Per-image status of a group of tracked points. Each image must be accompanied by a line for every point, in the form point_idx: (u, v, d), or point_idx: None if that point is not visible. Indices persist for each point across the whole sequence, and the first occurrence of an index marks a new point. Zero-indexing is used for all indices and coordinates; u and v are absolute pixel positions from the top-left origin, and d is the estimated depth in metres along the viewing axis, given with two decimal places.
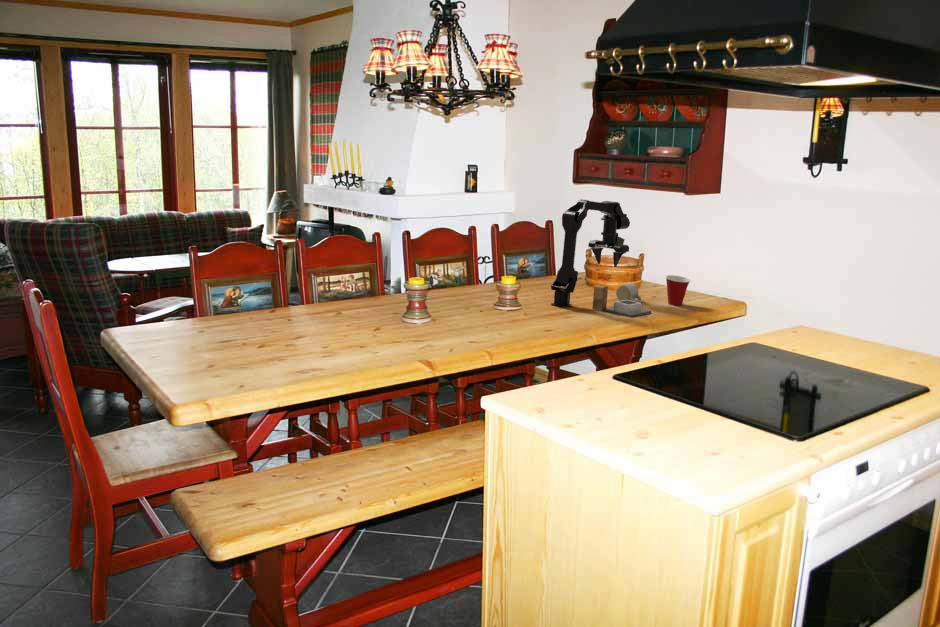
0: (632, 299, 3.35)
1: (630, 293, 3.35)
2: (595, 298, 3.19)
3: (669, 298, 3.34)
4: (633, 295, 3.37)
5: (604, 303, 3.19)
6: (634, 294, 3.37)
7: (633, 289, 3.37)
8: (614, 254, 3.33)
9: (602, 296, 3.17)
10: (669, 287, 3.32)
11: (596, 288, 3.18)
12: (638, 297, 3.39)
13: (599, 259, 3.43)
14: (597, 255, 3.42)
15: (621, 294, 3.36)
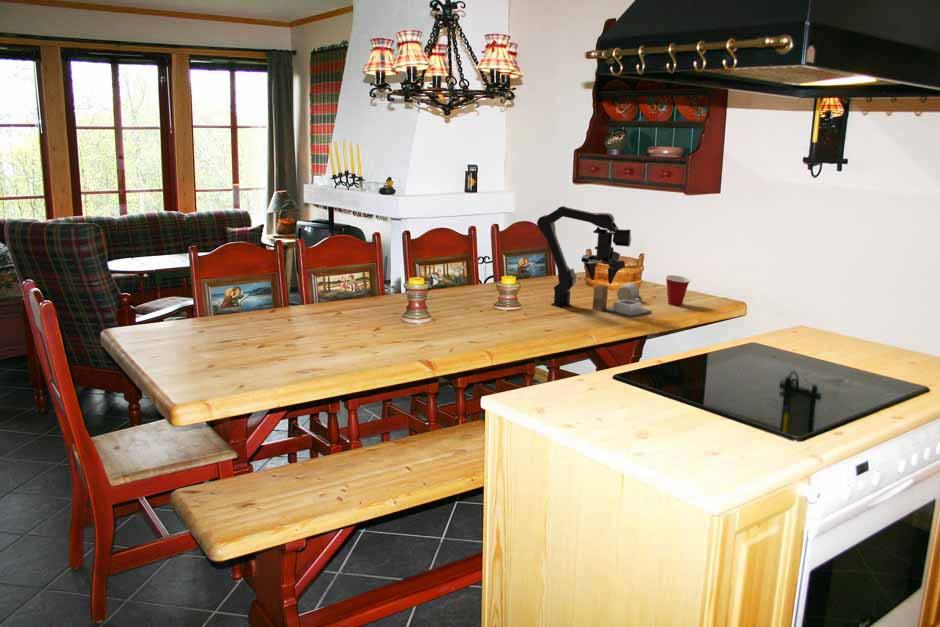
0: (633, 299, 3.34)
1: (631, 293, 3.34)
2: (595, 298, 3.19)
3: (669, 298, 3.34)
4: (634, 295, 3.37)
5: (604, 303, 3.19)
6: (635, 294, 3.37)
7: (634, 289, 3.36)
8: (609, 271, 3.10)
9: (602, 296, 3.17)
10: (669, 287, 3.32)
11: (596, 288, 3.18)
12: (639, 297, 3.38)
13: (593, 275, 3.21)
14: (591, 271, 3.19)
15: (622, 294, 3.36)
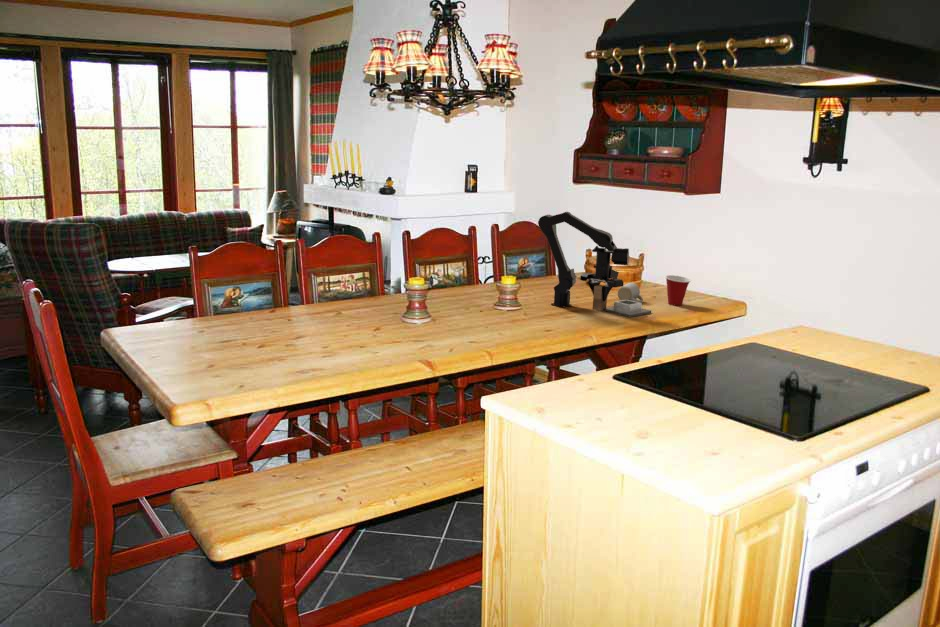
0: (633, 299, 3.34)
1: (631, 293, 3.34)
2: (595, 298, 3.19)
3: (669, 298, 3.34)
4: (634, 295, 3.36)
5: (604, 303, 3.19)
6: (635, 294, 3.37)
7: (634, 289, 3.36)
8: (603, 288, 3.14)
9: None
10: (669, 287, 3.32)
11: (596, 288, 3.18)
12: (639, 297, 3.38)
13: None
14: None
15: (623, 294, 3.36)
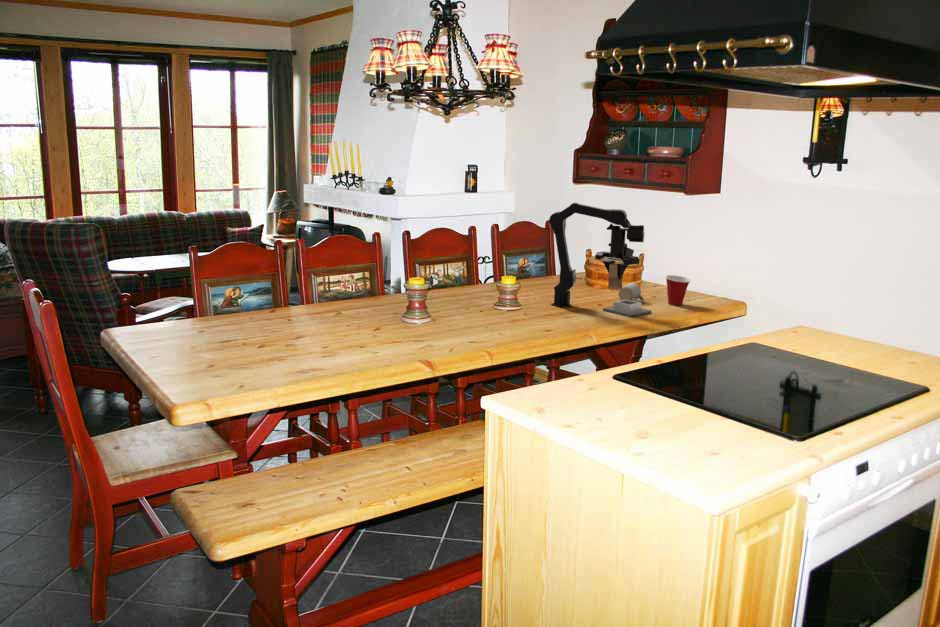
0: (634, 299, 3.34)
1: (632, 293, 3.34)
2: (610, 276, 3.15)
3: (669, 298, 3.34)
4: (635, 295, 3.36)
5: (620, 281, 3.15)
6: (636, 294, 3.36)
7: (635, 289, 3.36)
8: (619, 266, 3.11)
9: None
10: (669, 287, 3.32)
11: (611, 266, 3.14)
12: (640, 297, 3.38)
13: None
14: None
15: (624, 295, 3.36)
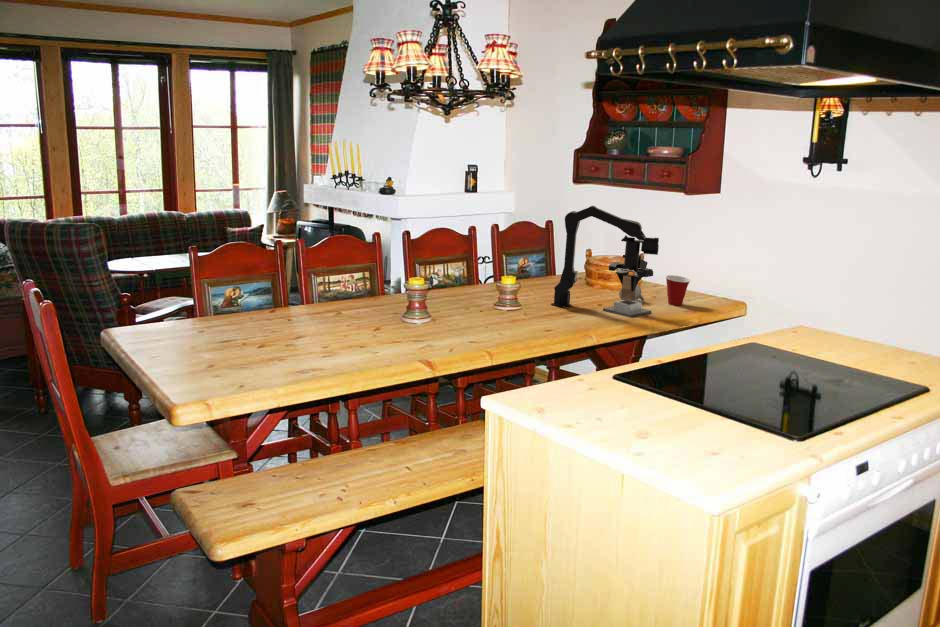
0: (635, 300, 3.34)
1: None
2: (623, 288, 3.16)
3: (669, 298, 3.34)
4: (636, 296, 3.36)
5: (633, 293, 3.16)
6: (637, 295, 3.36)
7: (636, 290, 3.36)
8: (632, 278, 3.11)
9: None
10: (669, 287, 3.32)
11: (625, 278, 3.14)
12: (641, 298, 3.38)
13: None
14: None
15: None
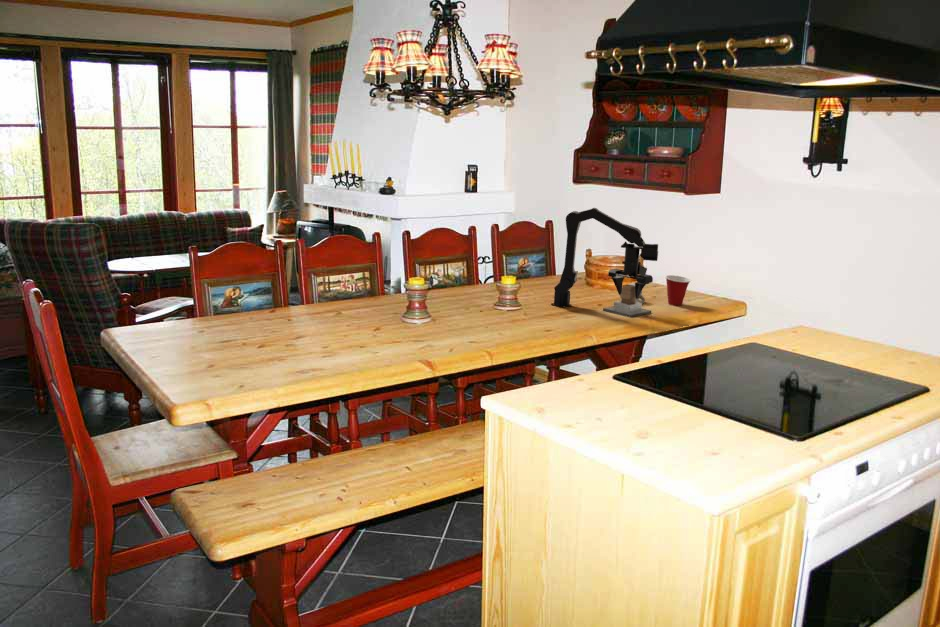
0: (636, 300, 3.34)
1: None
2: (623, 298, 3.16)
3: (669, 298, 3.34)
4: None
5: (633, 303, 3.16)
6: None
7: None
8: (636, 285, 3.10)
9: (631, 296, 3.14)
10: (669, 287, 3.32)
11: (624, 288, 3.15)
12: (642, 298, 3.37)
13: (620, 289, 3.19)
14: (618, 285, 3.18)
15: None
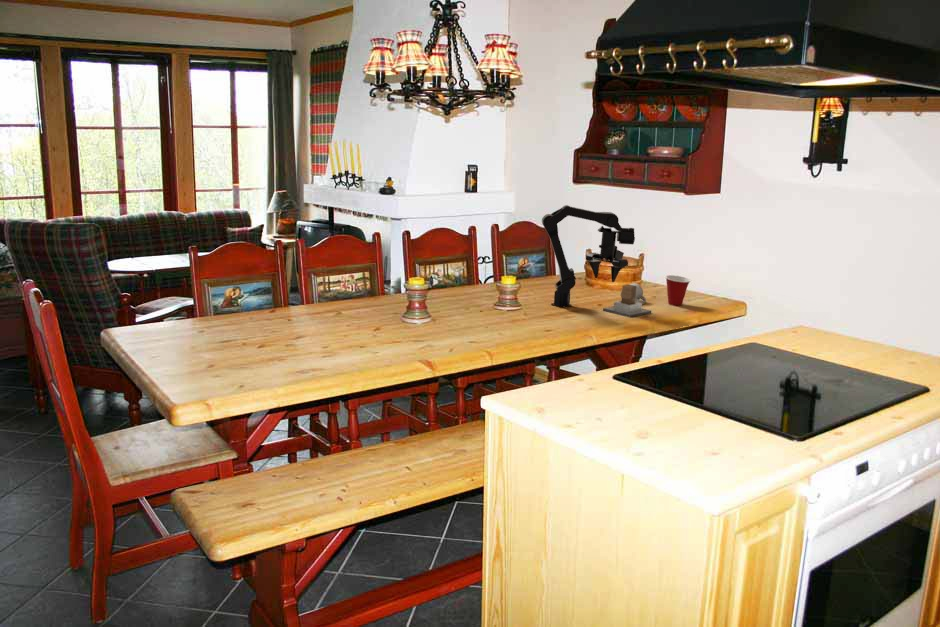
0: (637, 300, 3.33)
1: None
2: (623, 298, 3.16)
3: (669, 298, 3.34)
4: (638, 296, 3.35)
5: (633, 303, 3.16)
6: (639, 295, 3.36)
7: (638, 290, 3.35)
8: (612, 269, 3.15)
9: (631, 296, 3.14)
10: (669, 287, 3.32)
11: (624, 288, 3.15)
12: (643, 298, 3.37)
13: (596, 273, 3.25)
14: (594, 269, 3.24)
15: None
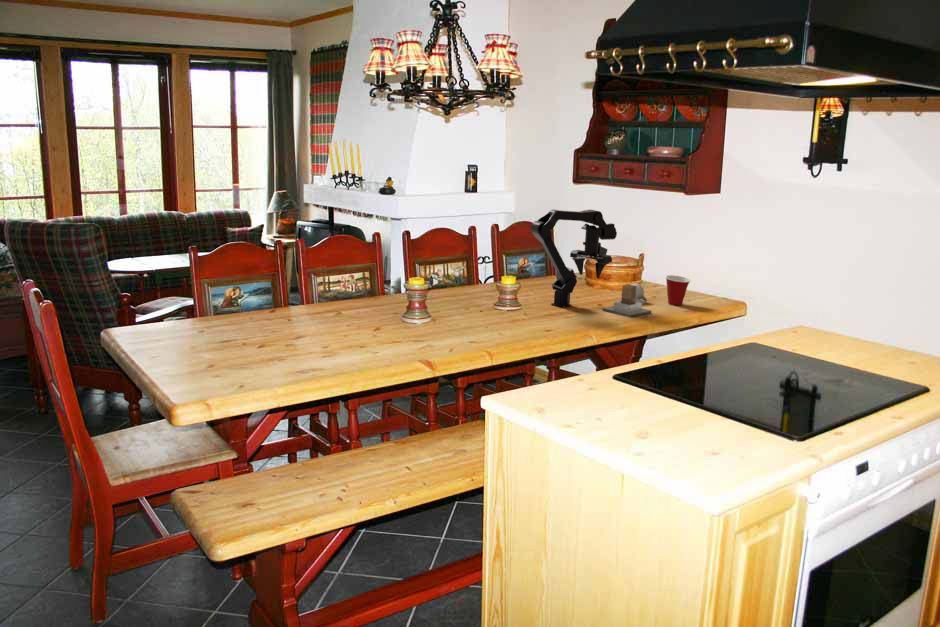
0: (638, 300, 3.33)
1: (636, 294, 3.33)
2: (623, 298, 3.16)
3: (669, 298, 3.34)
4: (639, 296, 3.35)
5: (633, 303, 3.16)
6: (640, 295, 3.35)
7: (639, 290, 3.35)
8: (597, 265, 3.20)
9: (631, 296, 3.14)
10: (669, 287, 3.32)
11: (624, 288, 3.15)
12: (644, 298, 3.37)
13: (581, 270, 3.30)
14: (579, 266, 3.29)
15: None
